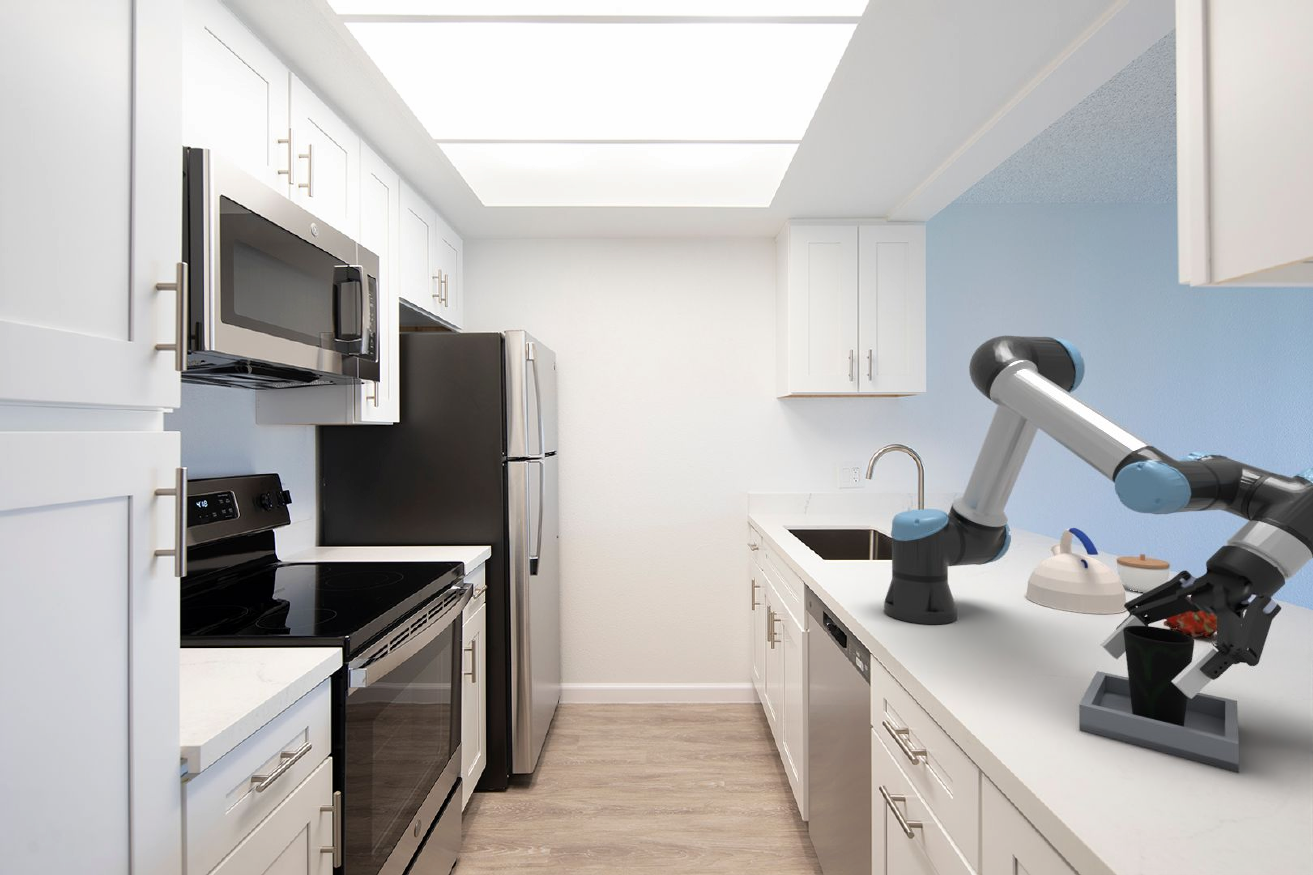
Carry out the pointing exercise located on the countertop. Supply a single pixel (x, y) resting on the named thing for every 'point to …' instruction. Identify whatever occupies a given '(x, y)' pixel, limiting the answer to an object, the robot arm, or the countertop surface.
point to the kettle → (1076, 580)
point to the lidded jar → (1142, 572)
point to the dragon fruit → (1193, 623)
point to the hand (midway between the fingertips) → (1141, 669)
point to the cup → (1157, 671)
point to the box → (1163, 723)
